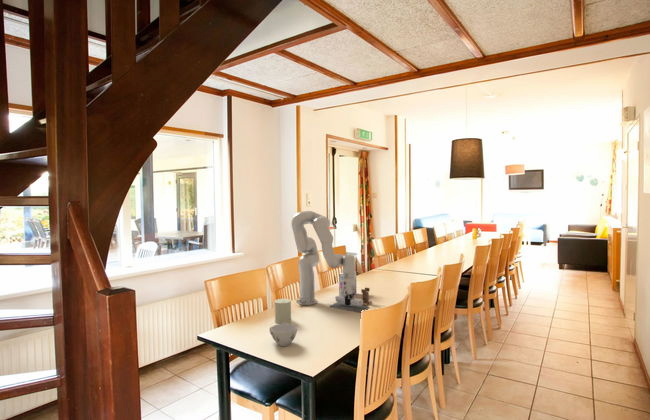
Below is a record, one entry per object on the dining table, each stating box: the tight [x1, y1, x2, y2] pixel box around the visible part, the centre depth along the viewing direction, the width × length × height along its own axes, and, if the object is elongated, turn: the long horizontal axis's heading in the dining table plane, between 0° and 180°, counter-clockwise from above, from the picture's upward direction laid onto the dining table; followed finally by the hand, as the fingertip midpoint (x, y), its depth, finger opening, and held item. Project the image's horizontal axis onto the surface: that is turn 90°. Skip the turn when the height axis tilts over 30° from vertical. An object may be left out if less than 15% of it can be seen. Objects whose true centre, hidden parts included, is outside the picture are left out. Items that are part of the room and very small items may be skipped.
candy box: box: [338, 270, 357, 296], centre depth 252 cm, size 14×6×16 cm, turn 143°
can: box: [274, 298, 292, 325], centre depth 203 cm, size 9×9×12 cm
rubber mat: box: [329, 301, 370, 314], centre depth 226 cm, size 11×22×1 cm, turn 57°
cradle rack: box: [346, 287, 373, 307], centre depth 235 cm, size 8×17×10 cm, turn 57°
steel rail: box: [335, 295, 363, 306], centre depth 225 cm, size 3×18×3 cm, turn 58°
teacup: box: [269, 323, 298, 347], centre depth 172 cm, size 15×12×8 cm
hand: (349, 303), depth 226 cm, fingers open, 3 cm apart
